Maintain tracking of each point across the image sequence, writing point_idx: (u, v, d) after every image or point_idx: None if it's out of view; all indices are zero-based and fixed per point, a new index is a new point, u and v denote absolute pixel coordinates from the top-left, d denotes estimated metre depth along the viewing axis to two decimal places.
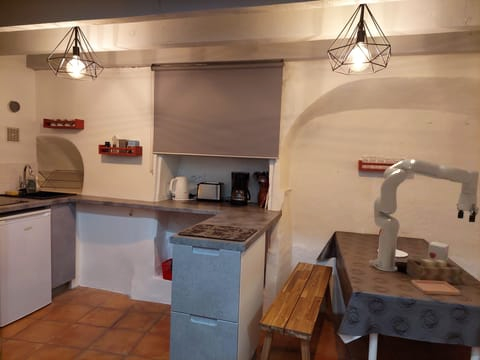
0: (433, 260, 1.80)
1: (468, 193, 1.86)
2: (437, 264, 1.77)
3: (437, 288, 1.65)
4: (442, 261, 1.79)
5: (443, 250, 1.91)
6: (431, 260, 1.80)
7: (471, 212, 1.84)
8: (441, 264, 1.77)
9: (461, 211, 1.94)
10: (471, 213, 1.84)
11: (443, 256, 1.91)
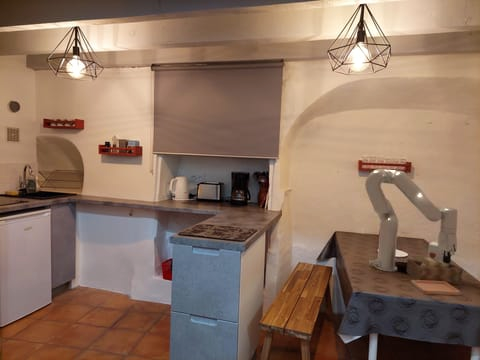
0: (435, 260, 1.80)
1: (447, 232, 1.75)
2: (439, 264, 1.77)
3: (437, 288, 1.65)
4: None
5: None
6: (433, 260, 1.79)
7: (447, 254, 1.77)
8: (443, 265, 1.77)
9: None
10: (446, 255, 1.77)
11: None
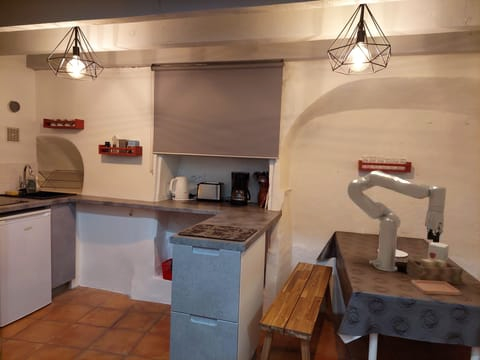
0: (433, 260, 1.80)
1: (434, 211, 1.74)
2: (437, 264, 1.77)
3: (437, 288, 1.65)
4: (442, 261, 1.79)
5: (443, 250, 1.91)
6: (431, 260, 1.80)
7: (435, 232, 1.74)
8: (441, 264, 1.77)
9: (431, 231, 1.81)
10: (435, 234, 1.74)
11: (443, 256, 1.91)
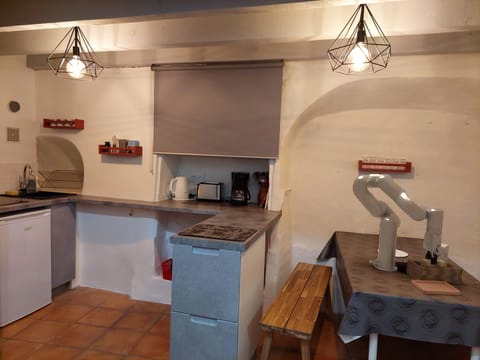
0: None
1: (432, 233, 1.75)
2: (437, 264, 1.77)
3: (437, 288, 1.65)
4: (442, 261, 1.79)
5: (443, 250, 1.91)
6: None
7: (433, 255, 1.76)
8: (441, 264, 1.77)
9: (429, 253, 1.82)
10: (433, 256, 1.75)
11: (443, 256, 1.91)
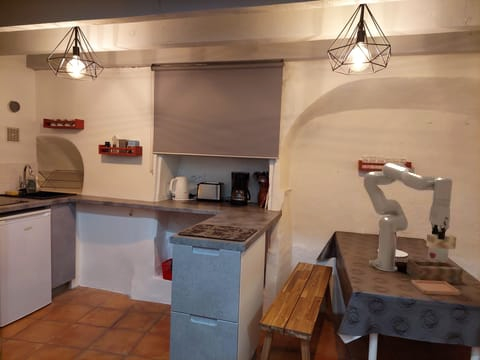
0: None
1: (440, 204, 1.59)
2: (445, 239, 1.61)
3: (437, 288, 1.65)
4: (451, 236, 1.62)
5: (443, 250, 1.91)
6: None
7: (441, 228, 1.59)
8: (450, 239, 1.61)
9: (436, 227, 1.65)
10: (440, 230, 1.59)
11: (443, 256, 1.91)
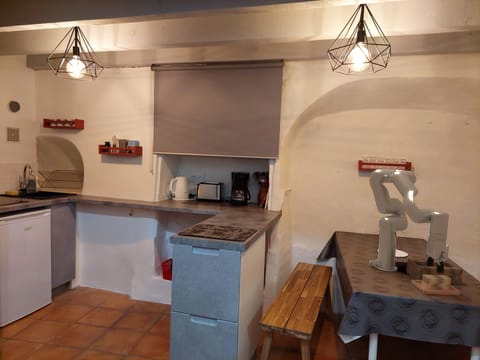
0: (436, 276, 1.65)
1: (436, 239, 1.60)
2: (440, 280, 1.63)
3: None
4: (446, 277, 1.64)
5: None
6: (434, 276, 1.65)
7: (439, 262, 1.59)
8: (445, 280, 1.63)
9: (431, 258, 1.68)
10: (439, 263, 1.59)
11: None
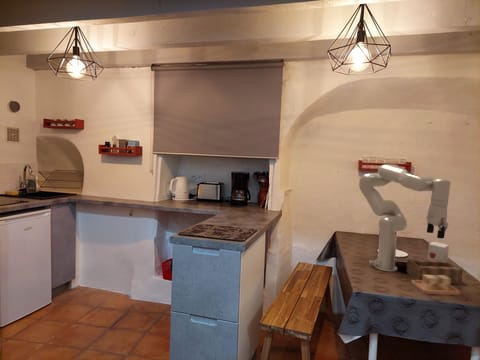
0: (436, 276, 1.65)
1: (437, 205, 1.63)
2: (440, 280, 1.63)
3: None
4: (446, 277, 1.64)
5: (443, 250, 1.91)
6: (434, 276, 1.65)
7: (440, 227, 1.61)
8: (445, 280, 1.63)
9: (431, 225, 1.71)
10: (440, 228, 1.61)
11: (443, 256, 1.91)
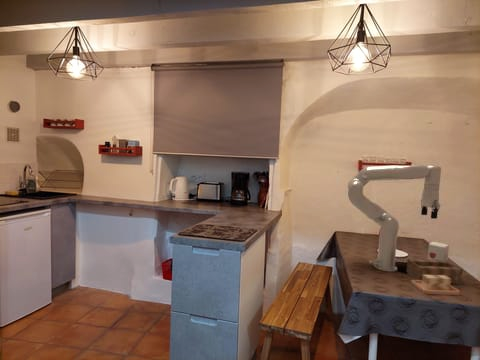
0: (436, 276, 1.65)
1: (430, 189, 1.81)
2: (440, 280, 1.63)
3: None
4: (446, 277, 1.64)
5: (443, 250, 1.91)
6: (434, 276, 1.65)
7: (433, 208, 1.79)
8: (445, 280, 1.63)
9: (425, 207, 1.90)
10: (433, 209, 1.79)
11: (443, 256, 1.91)
